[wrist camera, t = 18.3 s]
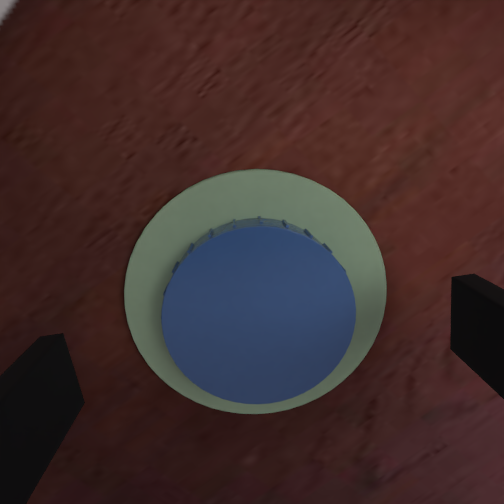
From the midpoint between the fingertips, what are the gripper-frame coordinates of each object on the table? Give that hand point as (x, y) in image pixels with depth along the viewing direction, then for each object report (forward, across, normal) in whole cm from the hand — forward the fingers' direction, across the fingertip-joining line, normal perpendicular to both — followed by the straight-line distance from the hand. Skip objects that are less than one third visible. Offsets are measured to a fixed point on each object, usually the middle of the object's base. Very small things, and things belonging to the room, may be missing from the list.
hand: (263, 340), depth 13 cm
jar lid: (+2, 0, 0) cm, 2 cm away
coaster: (+4, 0, 0) cm, 4 cm away
